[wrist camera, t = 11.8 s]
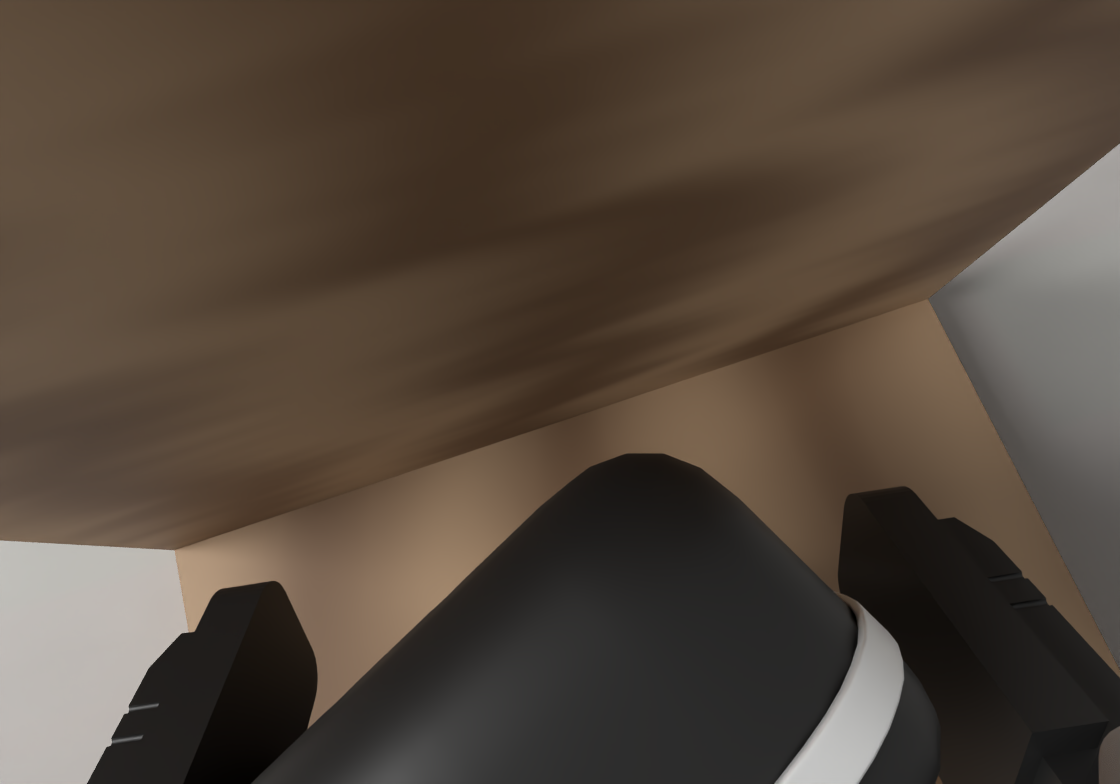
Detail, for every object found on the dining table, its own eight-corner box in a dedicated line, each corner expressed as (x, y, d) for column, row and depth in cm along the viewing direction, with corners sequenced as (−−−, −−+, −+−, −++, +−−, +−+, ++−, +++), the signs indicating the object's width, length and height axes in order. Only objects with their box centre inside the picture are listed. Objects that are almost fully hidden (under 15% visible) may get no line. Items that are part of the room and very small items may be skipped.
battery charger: (585, 496, 16) (677, 333, 5) (699, 616, 16) (1068, 704, 5) (359, 716, 15) (-135, 1096, 4) (475, 856, 14) (264, 1773, 3)
